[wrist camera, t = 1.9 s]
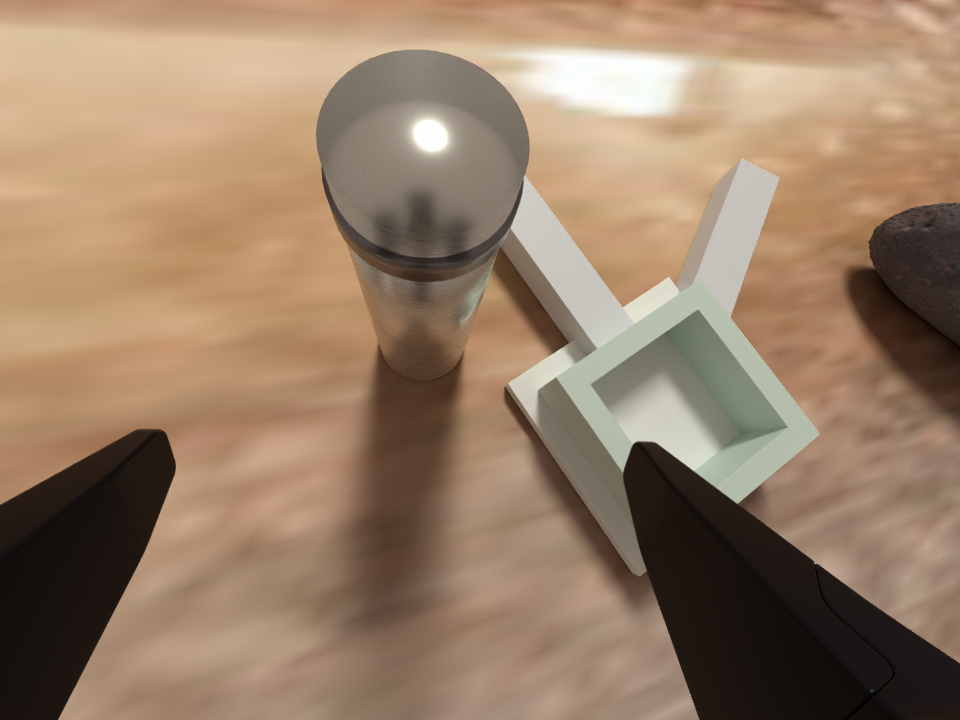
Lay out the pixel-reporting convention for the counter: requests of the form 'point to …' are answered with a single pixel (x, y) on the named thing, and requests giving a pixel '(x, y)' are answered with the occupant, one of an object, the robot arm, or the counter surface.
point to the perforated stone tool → (923, 262)
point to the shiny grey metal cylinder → (422, 195)
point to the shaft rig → (654, 361)
